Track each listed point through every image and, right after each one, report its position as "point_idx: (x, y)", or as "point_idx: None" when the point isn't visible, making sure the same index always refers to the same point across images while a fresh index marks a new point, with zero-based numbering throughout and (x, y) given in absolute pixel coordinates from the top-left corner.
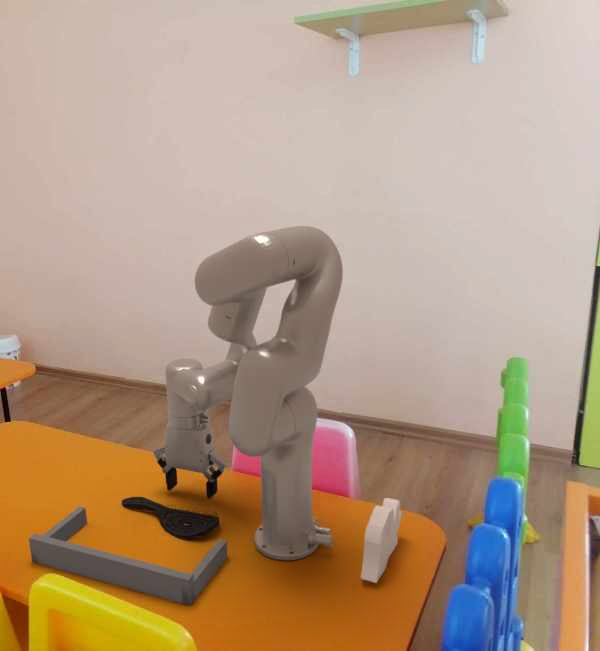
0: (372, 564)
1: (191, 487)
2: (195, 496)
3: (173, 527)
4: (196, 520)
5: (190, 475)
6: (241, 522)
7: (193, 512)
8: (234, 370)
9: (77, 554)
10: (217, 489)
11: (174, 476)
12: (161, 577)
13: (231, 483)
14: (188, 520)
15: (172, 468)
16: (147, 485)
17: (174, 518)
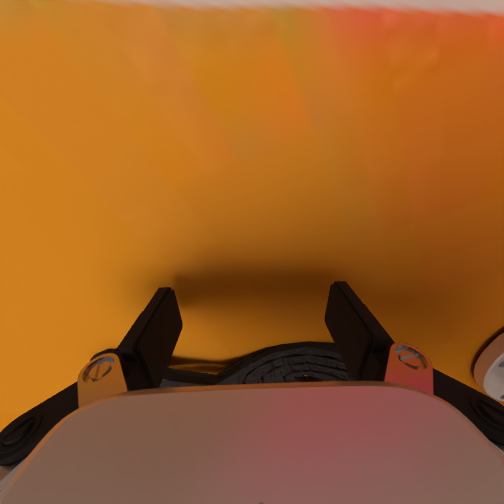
0: None
1: (212, 241)
2: (259, 281)
3: None
4: (325, 372)
5: (141, 157)
6: (433, 331)
7: (300, 349)
8: None
9: None
10: (365, 306)
11: (160, 335)
12: None
13: (358, 149)
14: (304, 372)
15: (135, 383)
16: (67, 284)
17: (268, 377)
